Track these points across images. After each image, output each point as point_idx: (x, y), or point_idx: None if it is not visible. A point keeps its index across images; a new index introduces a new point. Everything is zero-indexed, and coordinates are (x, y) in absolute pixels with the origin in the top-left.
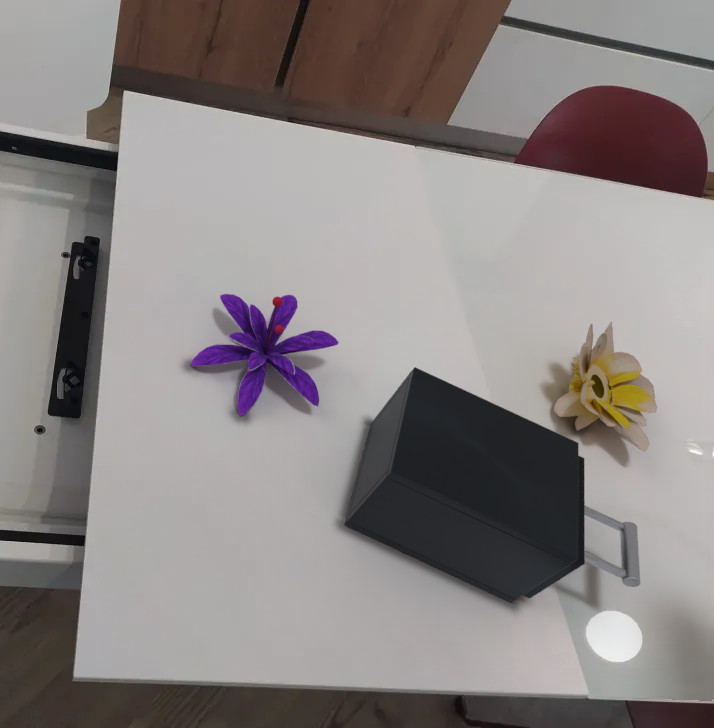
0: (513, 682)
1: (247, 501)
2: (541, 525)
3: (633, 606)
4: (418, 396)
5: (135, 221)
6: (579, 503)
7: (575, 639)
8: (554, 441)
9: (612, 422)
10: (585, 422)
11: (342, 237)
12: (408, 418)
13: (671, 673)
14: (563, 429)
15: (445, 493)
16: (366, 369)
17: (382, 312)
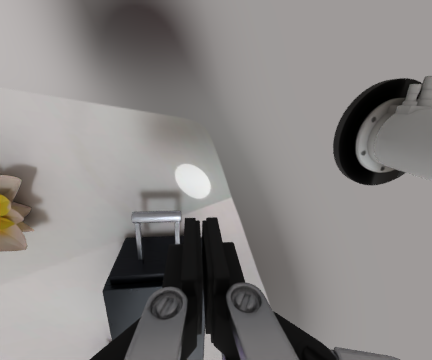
0: (242, 232)
1: (208, 336)
2: None
3: (166, 168)
4: None
5: None
6: (155, 276)
7: (206, 204)
8: (115, 304)
9: (11, 209)
10: (20, 210)
11: None
12: None
13: (201, 145)
14: (39, 217)
15: (201, 344)
16: (96, 323)
17: (39, 328)
